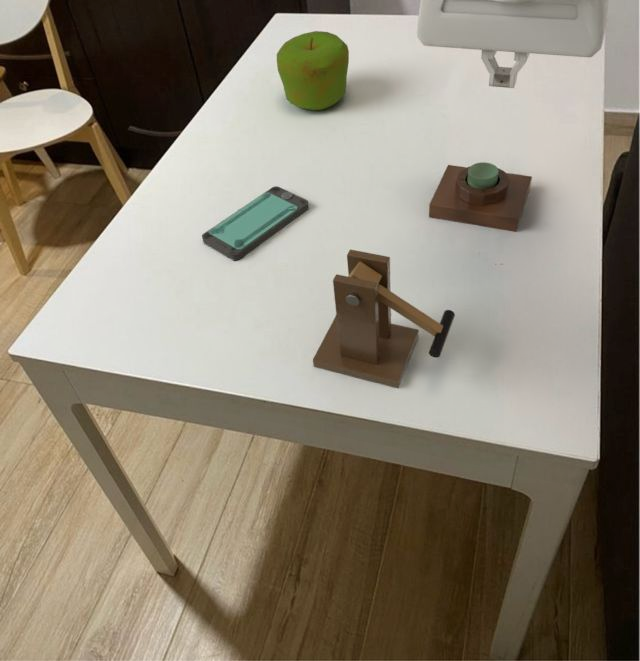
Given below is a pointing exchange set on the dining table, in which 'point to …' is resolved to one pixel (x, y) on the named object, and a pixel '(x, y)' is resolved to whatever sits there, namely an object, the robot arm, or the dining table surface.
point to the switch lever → (408, 309)
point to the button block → (480, 199)
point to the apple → (313, 69)
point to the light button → (482, 175)
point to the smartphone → (255, 222)
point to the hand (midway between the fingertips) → (502, 85)
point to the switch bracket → (365, 328)
